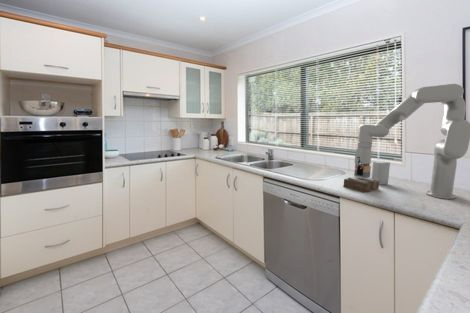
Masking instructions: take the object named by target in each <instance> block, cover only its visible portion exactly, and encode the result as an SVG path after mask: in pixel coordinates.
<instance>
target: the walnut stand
mask: <svg viewBox="0 0 470 313" xmlns="http://www.w3.org/2000/svg"><path fill="white" fill-rule="evenodd" d="M343 188H346V189H350V190H353V191H354V190H355V191H357V192H361V193H369V192H372V191H377V190H379V188H380V185H379V181H376V179H372V177H368V178H362V177H357V176H349V177H347V178H344V179H343Z"/></svg>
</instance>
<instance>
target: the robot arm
mask: <svg viewBox="0 0 470 313" xmlns="http://www.w3.org/2000/svg"><path fill="white" fill-rule="evenodd" d="M464 91H465V90H464V88H463V86H462V85H461V84H457V83H447V84H439V85H432V86H423V87H420V88H416V89H415V90H414V91H413V92H411V93H410V94H409V95H408V96H407V97H406V98H404V100H402V101H401V102H400V103H398V105H397V106H395V107H394V108H392V110H391V111H390V112H389V113H387V114H386V115H385V116H384V117H382V118H381V119H380V120H379V121H378V122H377V123H376V124H375V125H373V124H360V125H359V127H358V138H357V147H356V151H355V156H354V166H355V165H356V167H357V175H360V176H362V171H363V169H362V167H363V165H369V166H371V163H372V146H373V145H372V144H373V138H382V139H383V138H385V137H386V136H388V135H389V133H390V129H392V127H394V126H396V124H399V123H400V122H402V121H405V120H406V119H408V118H409V117H410V116H412V114H414V113H415V112H416V111H418V110H419V109H420V108H421V107H422V106H424V104H431V103H433V104H434V103H441V104H442V105H443V108H444V112H443V117H442V122H441V126H440V132H441V134H442V135H444V136H445V139H441V140H438V142H436V144H435V145H434V149H433V150H434V151H433V156H434V158H433V167H432V176H431V181H430V189H429V190H427V191H426V195H428V196H430V197H433V198H438V199H445V200H455V199H456V197H457V196H456V194H453V192H454V185H455V184H454V183H455V178H456V172H457V165H458V164H457V162H458V161H457V160H458V159H461V158H463V157H464V156H465V155H466V154H467V151H468V150H469V149H468V148H469V145H470V121H468V120H466V119H465V118H466V111H467V105H466V101H465V99H464V98H463V95H464ZM360 165H361V167H360Z"/></svg>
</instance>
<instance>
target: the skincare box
mask: <svg viewBox="0 0 470 313" xmlns="http://www.w3.org/2000/svg"><path fill="white" fill-rule="evenodd" d="M390 167H391V162H389V161H386V160H379V161H378V160H377V161H375V160H374V161H372V172H371V179H376V181H379V186H381V185H389V176H390Z"/></svg>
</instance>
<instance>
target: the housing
mask: <svg viewBox="0 0 470 313" xmlns="http://www.w3.org/2000/svg"><path fill="white" fill-rule="evenodd" d="M360 167H361V165H360ZM371 168H372V166H371V165H363V167H362V169H363V171H362V176H360V175H357V167H356V165H355V164H354V174H353V177H355V176H357V177H362V178H371Z"/></svg>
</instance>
